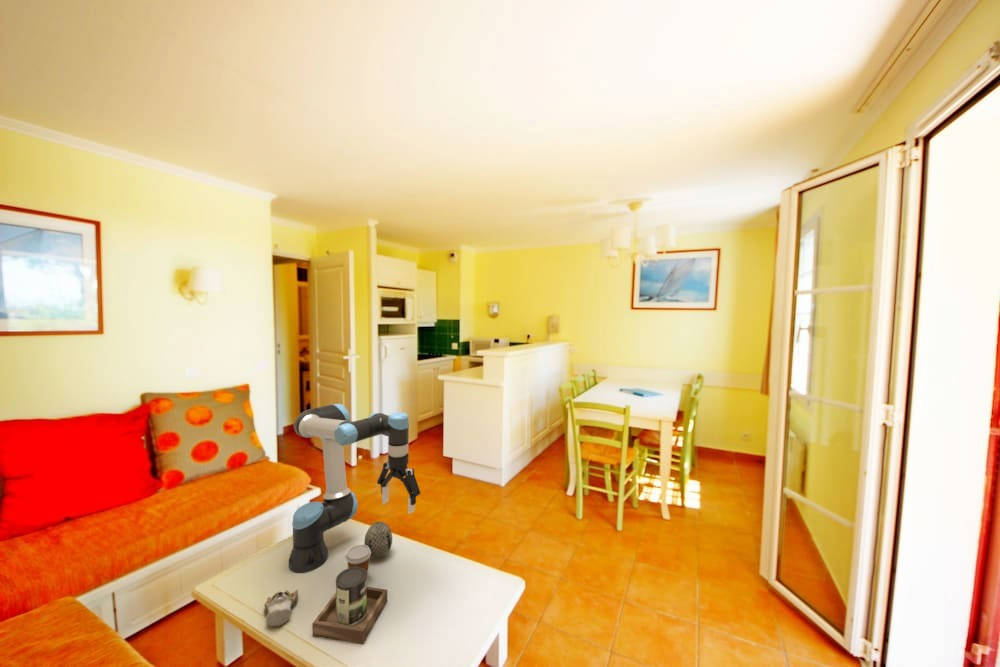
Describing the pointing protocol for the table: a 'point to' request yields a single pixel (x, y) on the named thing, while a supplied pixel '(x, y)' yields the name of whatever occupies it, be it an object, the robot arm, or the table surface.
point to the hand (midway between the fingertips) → (398, 507)
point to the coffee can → (351, 596)
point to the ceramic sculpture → (280, 607)
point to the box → (356, 633)
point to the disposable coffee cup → (359, 557)
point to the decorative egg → (378, 539)
